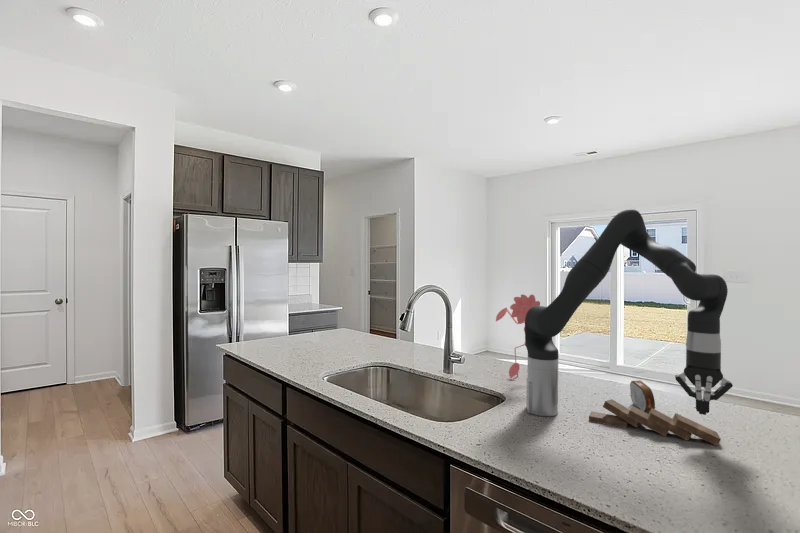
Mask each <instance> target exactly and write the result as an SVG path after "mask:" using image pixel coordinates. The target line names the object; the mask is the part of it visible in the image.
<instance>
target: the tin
mask: <svg viewBox="0 0 800 533" xmlns="http://www.w3.org/2000/svg"><path fill="white" fill-rule="evenodd" d="M629 383H630V384H629V386H630V387H629V388H630V389H629V390H630V398H631V402H632V403H633V405H634V407H636V408H638V409H640V410H642V411H644V412H646V413H648V414H649V412H650V410H651V408H653V409H655V410H656V402H655V397H654V394H653V391H652V389H651V387H650V386H648V385H647V384H646V383H644V382H643V381H642V380H631V382H629Z"/></svg>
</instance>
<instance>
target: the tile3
mask: <svg viewBox="0 0 800 533" xmlns="http://www.w3.org/2000/svg"><path fill="white" fill-rule="evenodd" d="M629 410H630V411H629V413H628V415H627V417H629V418H631V419H633V420H635V421H637V422H639V423H641V424H642V425H641V426H645V427H646V428H648V429H650V430H652V431H654V432H656V433H658V434H660V435H661V436H664V437H665V438H667V435H668V433H669V431H668V430H667V429H665V428H663V427H661V426H659V425H657V424H656V423H654V422H652V421H650V420H648V413H646V412H644V411H642V410H640V409H638V408H637V407H636V406H635V405H634V406H633V405H631V407H630V408H629Z"/></svg>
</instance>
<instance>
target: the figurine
mask: <svg viewBox="0 0 800 533" xmlns="http://www.w3.org/2000/svg"><path fill="white" fill-rule="evenodd" d="M513 302H514V303H512V304H511V305H510V306H509V308H510V310H512V312H511V313H510V311H509V310H508V307H504V308H502V309H501V310H499V312H498V313H497V314H496V316H495V322H498V321H500V320H501V319H503V317H505V316H506V313H508V315H509V316H510V318H512V320H513V321H514V323H516V325H522V324H525V317H526V314H527V312H528V310H529V309H530V308H532V307H534V306H541V301H539V300H537V301H536V296H535V295H534V294H530V295H529V296H527V295H526V294H524V293H523V294H520V296H514V297H513ZM515 318H516V319H515ZM523 332H524V333H525V326H524V327H523ZM523 346H525V347H526V344H525V343H524V344H522V345H519V346H516V347H514V349H513V350H514V360H515V361H514V363H513V364H512V365H511V366H510V367H509V370H508V377H509V379H512V378H514V377H515V376H516V377H519V371H520V364H519V363H518V362H517V353H516V351H517V350H516V349H518V348H521V347H523Z"/></svg>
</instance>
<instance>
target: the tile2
mask: <svg viewBox="0 0 800 533" xmlns="http://www.w3.org/2000/svg"><path fill="white" fill-rule="evenodd" d="M602 408H603V409H606V410H607V411H609V412H611V413H612V415H615V416H618V417H620V418H621V419H623V420H625V421H626V422H628V424H629V425H630V426H631V425H632V426H633V427H634V428H639V427H641V426H643V425H642V424H641V423H639V422H637V421H635V420H633V419H631V418H629V417H627V415H628V413H629V411H630V408H628V407H626V406H624V405H623V404H621V403H619V402H618V401H616V400H614V399H613V398H611V399H608V400H605V401H604V403H603V405H602Z"/></svg>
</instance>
